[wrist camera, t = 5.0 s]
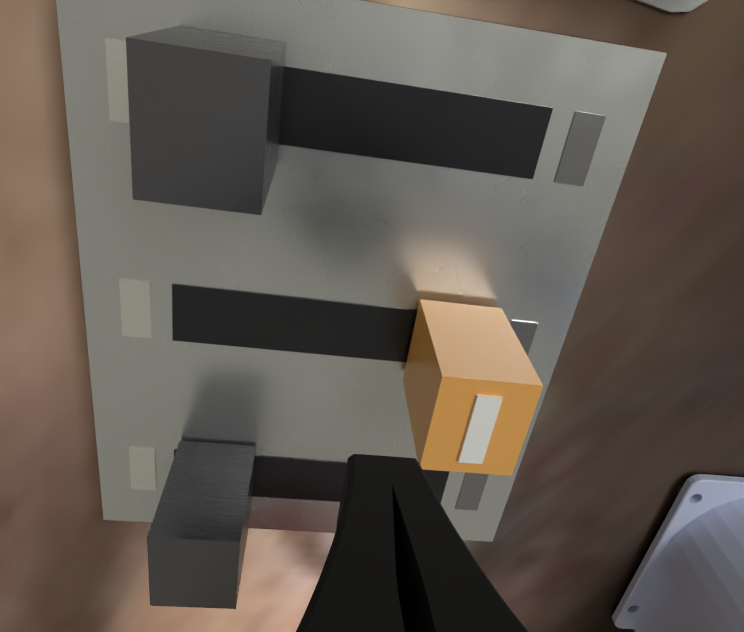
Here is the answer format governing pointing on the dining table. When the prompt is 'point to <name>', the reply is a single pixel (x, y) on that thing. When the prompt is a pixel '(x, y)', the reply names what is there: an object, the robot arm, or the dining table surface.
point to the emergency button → (674, 4)
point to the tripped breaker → (468, 389)
